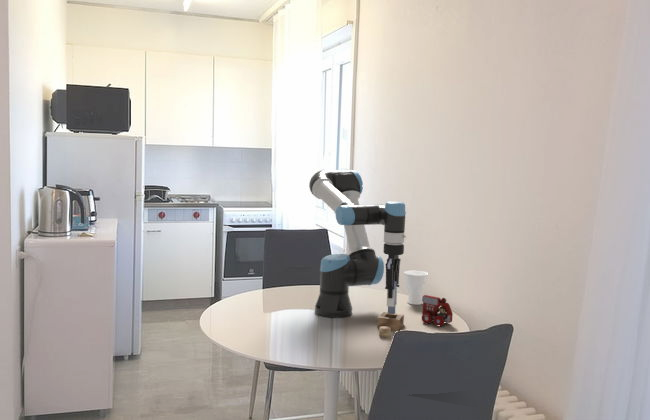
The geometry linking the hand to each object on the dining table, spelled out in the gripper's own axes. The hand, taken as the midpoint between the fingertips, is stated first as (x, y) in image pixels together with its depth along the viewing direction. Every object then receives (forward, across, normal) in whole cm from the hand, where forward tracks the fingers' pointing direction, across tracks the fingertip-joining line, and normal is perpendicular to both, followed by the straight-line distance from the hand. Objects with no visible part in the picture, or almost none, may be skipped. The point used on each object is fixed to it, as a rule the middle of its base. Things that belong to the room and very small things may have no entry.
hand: (391, 305), depth 214 cm
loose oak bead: (+8, -12, -1) cm, 15 cm away
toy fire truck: (+9, +12, -15) cm, 21 cm away
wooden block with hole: (+8, 0, 0) cm, 8 cm away
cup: (+8, +38, -1) cm, 39 cm away
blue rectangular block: (+3, 0, 0) cm, 3 cm away
